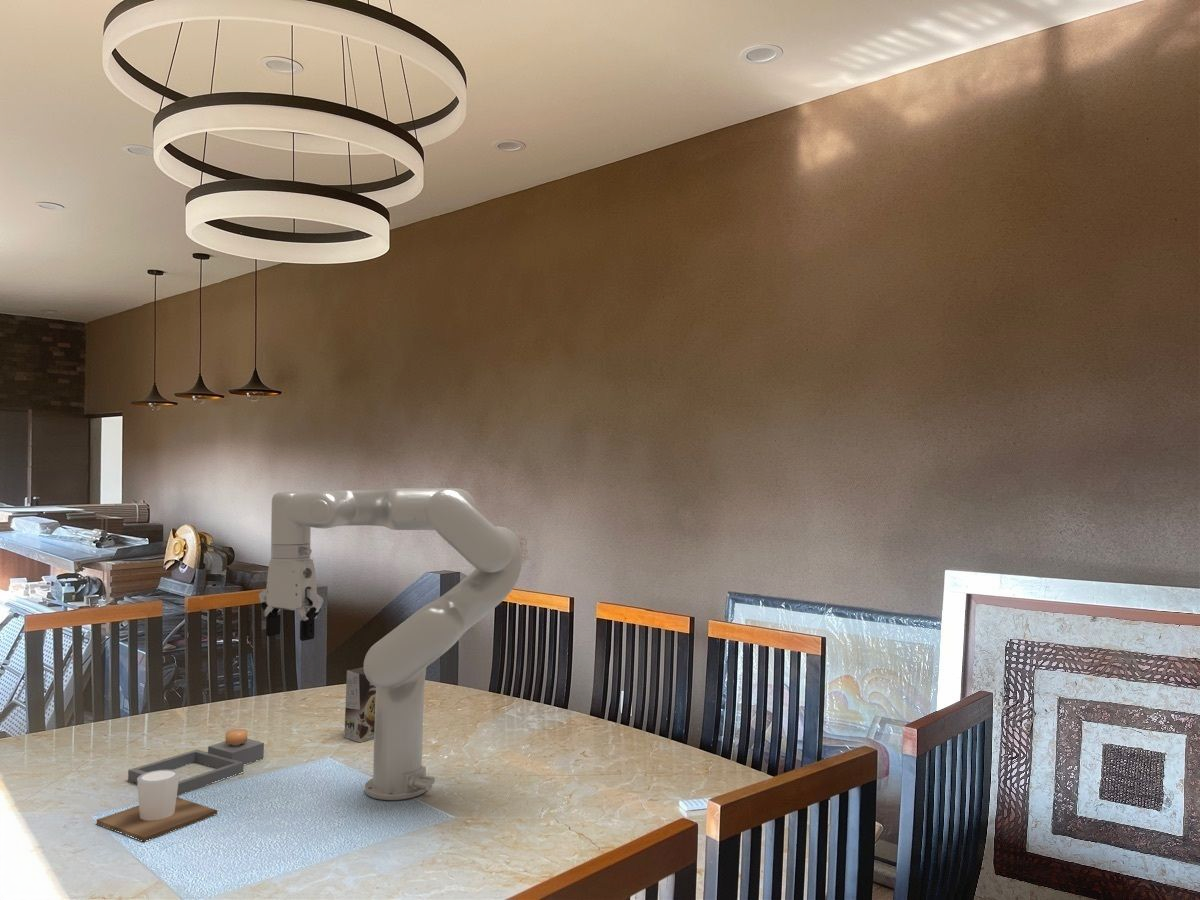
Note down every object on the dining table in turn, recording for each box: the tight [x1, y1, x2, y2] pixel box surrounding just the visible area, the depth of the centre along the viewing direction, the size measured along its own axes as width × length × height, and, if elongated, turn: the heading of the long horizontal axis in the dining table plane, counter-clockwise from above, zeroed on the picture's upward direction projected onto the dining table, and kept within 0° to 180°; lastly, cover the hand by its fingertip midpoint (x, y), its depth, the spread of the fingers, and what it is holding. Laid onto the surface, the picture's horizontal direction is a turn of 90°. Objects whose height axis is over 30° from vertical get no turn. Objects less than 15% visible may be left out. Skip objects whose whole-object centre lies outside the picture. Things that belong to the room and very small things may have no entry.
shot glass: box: [137, 769, 181, 821], centre depth 154 cm, size 7×7×7 cm
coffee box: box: [343, 666, 376, 743], centre depth 205 cm, size 9×6×16 cm
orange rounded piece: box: [224, 728, 248, 747], centre depth 186 cm, size 4×4×4 cm
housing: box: [127, 738, 265, 796], centre depth 179 cm, size 15×23×4 cm, turn 150°
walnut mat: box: [96, 796, 218, 842], centre depth 154 cm, size 14×14×1 cm
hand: (289, 637), depth 172 cm, fingers open, 9 cm apart
